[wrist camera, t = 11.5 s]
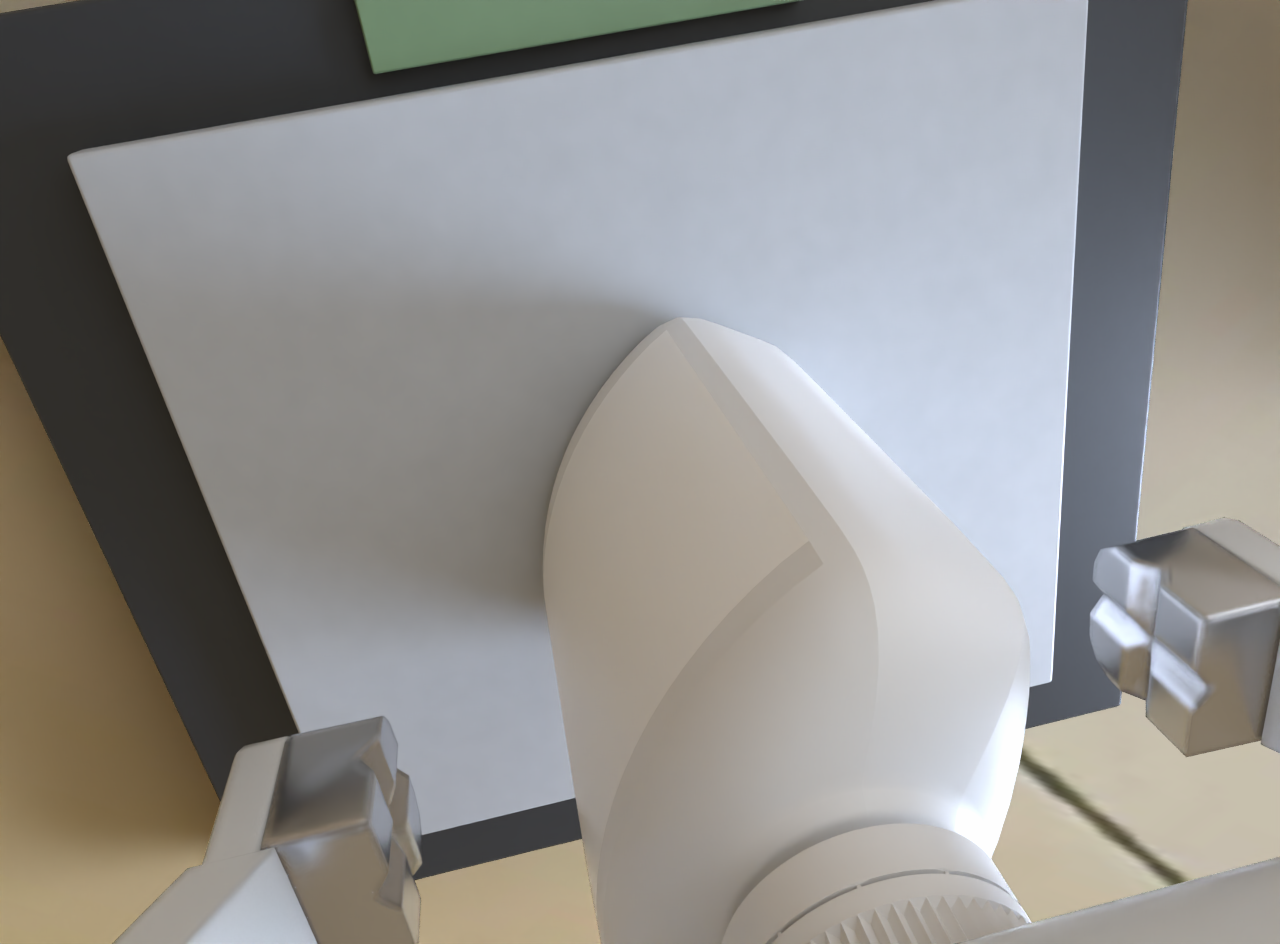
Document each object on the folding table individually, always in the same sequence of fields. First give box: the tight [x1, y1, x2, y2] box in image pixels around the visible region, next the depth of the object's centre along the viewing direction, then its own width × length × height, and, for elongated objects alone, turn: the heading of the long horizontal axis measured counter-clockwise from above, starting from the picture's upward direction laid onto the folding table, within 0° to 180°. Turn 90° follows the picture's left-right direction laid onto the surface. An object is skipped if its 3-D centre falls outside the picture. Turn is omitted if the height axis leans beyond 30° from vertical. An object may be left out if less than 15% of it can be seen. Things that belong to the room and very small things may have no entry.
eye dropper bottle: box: [543, 317, 1032, 944], centre depth 10 cm, size 4×6×12 cm
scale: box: [0, 0, 1188, 880], centre depth 17 cm, size 16×18×3 cm
